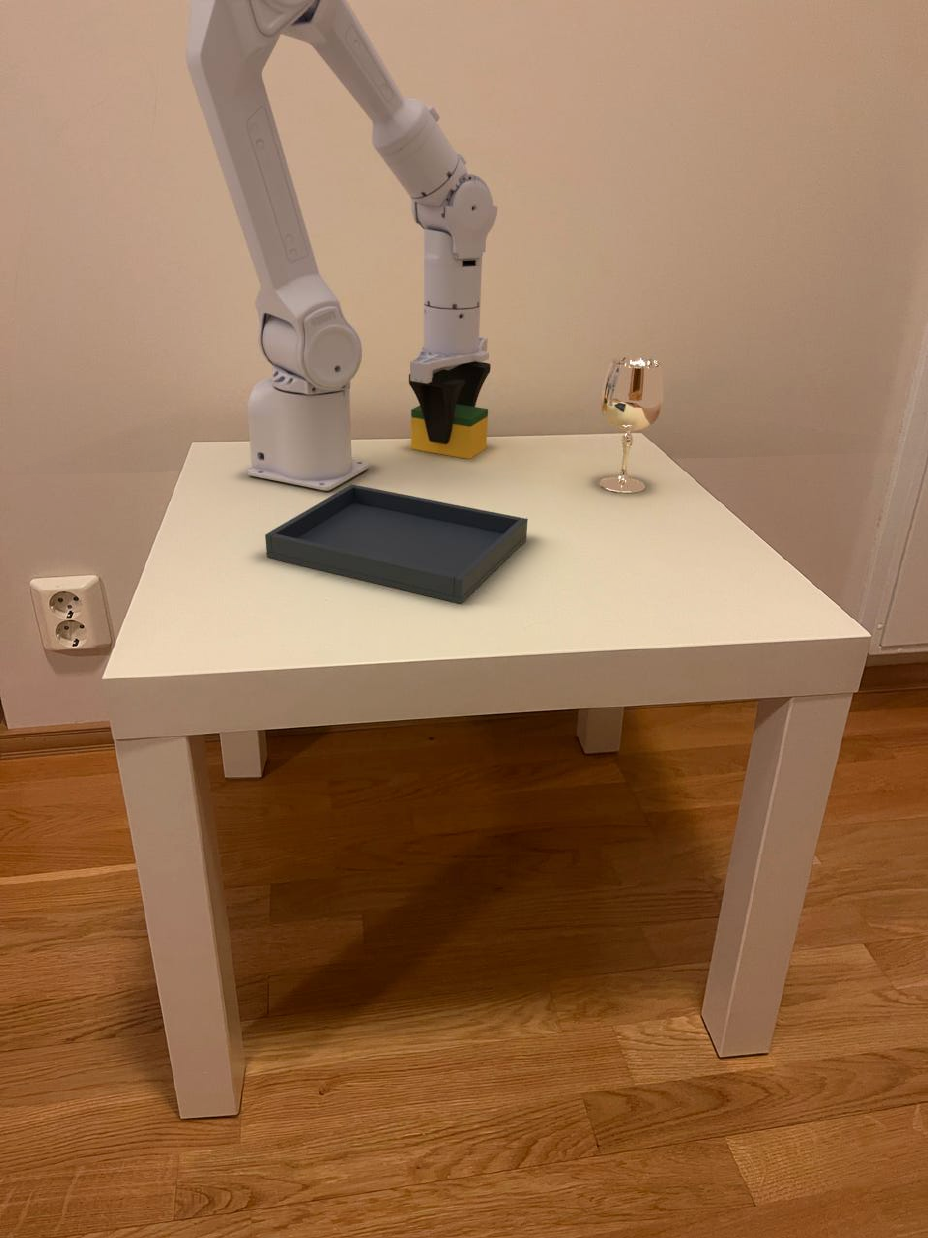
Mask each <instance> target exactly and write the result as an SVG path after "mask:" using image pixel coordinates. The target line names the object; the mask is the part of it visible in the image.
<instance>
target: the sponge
mask: <svg viewBox="0 0 928 1238" xmlns="http://www.w3.org/2000/svg"><path fill="white" fill-rule="evenodd" d="M488 420H489V409H488V408H483V407H478V406H477V407H476V406H475V407H471V406H464V405H458V404H456V407H455V411H454V418H453V427H452V432H451V437H450V440H449V443H447V444H442V443H436V442H430V441H429V438H428V434H427V429H426V425H425V421H424V417H423V413H422V410H421V407H420V405H418V406H416V407H414V408H411V410H410V449H411V450H415V451H420V452H421V451H422V452H426V453H434V454H439V455H443V456H444V455H445V456H450V457H455V458H460V459H466V460H471V459H473V457H475V456H476V455H478V454H479V453H481V452H483V451H485V449H487V446H488V445H487V444H488V443H487V442H488V424H489V423H488V422H489V421H488Z"/></svg>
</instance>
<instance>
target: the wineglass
mask: <svg viewBox="0 0 928 1238" xmlns="http://www.w3.org/2000/svg"><path fill="white" fill-rule="evenodd" d="M664 382H665V381H664V370H663V364H662V362H660V361H658V360H656V359H652V358H646V357H637V356H623V357H616V358H613V359H611V361H610V364H609V366H608V369H607V372H606V376H605V379H604V383H603V387H602V391H601V399H600V400H601V411H602V414H603V416H604V418H605V420H606V421H607V422H608V423H609V424H610V425H612V426H613V427H615V428H617V429H620V430H622V431H625V432H624V434H623V436H622V438H621V445H622V454H623V455H622V463H621V469H620V472H619V474H618V475H617V476H609V477H608V476H607V477H605V478H602V479H601V480H600V481H599V486H600V487H601V488H603V489H604V490H606V491H609V492H615V493H619V494H635V493H639V492H642V491H644V490H645V488H646V486H645V484H644V483H643V481H640V480H639V479H636V478H632V477H629V475H628V472H627V468H628V458H629V452H630V450H631V447H632V445H633V442H634V440H633V434H632V432H635V431H640V430H644V429H646V428H648V427H650V426H651V425H653V424H654V423H656V421H657V420H658V418H659V417H660V415H661V412H662V409H663V405H664V397H665V395H664V394H665V383H664Z"/></svg>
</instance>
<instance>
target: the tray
mask: <svg viewBox="0 0 928 1238" xmlns="http://www.w3.org/2000/svg"><path fill="white" fill-rule="evenodd" d="M527 533H528V518H524V517H521V516H514V515H509V514H504V513H498V512H494V511H489V510H484V509H479V508H474V507H469V506H464V505H460V504H454V503H448V502H443V501H439V500H435V499H434V500H433V499H429V498H424V497H418V496H413V495H408V494H403V493H398V492H393V491H388V490H382V489H377V488H373V487H368V486H363V485H357V484H348V486H346V487H344V488H342V489H341V490H339V491H337V492H335V493H334V494H332V495H330V496H328V497H327V498H325V499H324V500H322V501H320V502H318V503H316V504H315V505H313V506H311V507H310V508H308V509H307V510H305V511H303V512H301V513H300V514H298V515H296V516H294V517H293V518H291V519H289V520H288V521H286V522H283V523H282V524H281V525H279V526H277V527H275V528H274V529H272V530H271V531H269V532H267V533H265V534H264V537H265V538H264V539H265V540H264V541H265V550H266V552H265V554H266V558H268V559H272V560H276V561H281V562H285V563H288V564H294V565H298V566H302V567H306V568H310V569H314V570H319V571H323V572H327V573H331V574H336V575H338V576H339V575H340V576H343V577H348V578H351V579H356V580H360V581H365V582H368V583H373V584H377V585H381V586H385V587H389V588H393V589H398V590H402V591H407V592H412V593H414V594H418V595H423V596H427V597H431V598H434V599H440V600H444V601H448V602H452V603H456V604H461V605H462V604H463V602H464V601H465V600H467V599H468V598H469V597H470V596H471V595H472V594H473V593H474V592H475V591H476V590H477V589H478V588H479V587H481V585H482V584H483V583H484V582H485V581H486V580H487V579H488V578H490V576H491V575H492V574H493V573H495V571H496V570H497V569H499V568H500V567H501V566H502V565H503V564H504V563H505V562H506V561H507V560H508V559H509V558H510V557H511V556H512V555H513V554H514V553H515V552H516V551H517V550H518V549H519V548H520V547H521V546H523V545H524V543H526V541H527Z"/></svg>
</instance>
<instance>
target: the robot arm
mask: <svg viewBox="0 0 928 1238" xmlns="http://www.w3.org/2000/svg"><path fill="white" fill-rule="evenodd" d="M188 17H189V18H188V27H187V36H186V45H185V60H186V65H187V70H188V73H189V75H190V76H189V77H190V78H191V82H192V85H193V88H194V90H195V94H196V97H197V99H198V103H199V106H200V108H201V112H202V114H203V118H204V120H205V123H206V124H205V125H206V126H207V129H208V132H209V136H210V138H211V141H212V144H213V147H214V151H215V153H216V157H217V160H218V163H219V165H220V169H221V171H222V174H223V177H224V180H225V183H226V187H227V189H228V193H229V196H230V199H231V201H232V205H233V207H234V210H235V213H236V216H237V219H238V222H239V226H240V228H241V231H242V234H243V238H244V240H245V243H246V246H247V249H248V253H249V256H250V258H251V262H252V264H253V267H254V270H255V273H256V276H257V279H258V283H259V285H260V287H259V290H258V292H257V295H256V298H255V300H254V304H255V308H256V312H257V314H258V320H259V323H258V325H259V326H258V335H257V337H258V338H257V339H258V346H259V349H260V352H261V354H262V356H263V358H264V359H265V360H266V361H267V362H268V363H269V364H270V365H271V366H272V375H271V377H266V378H263V379H261V380H259V381H258V382H257V383H256V384H255V385H254V386H253V387H252V389H251V391H250V395H249V398H248V402H247V424H248V434H249V446H250V447H249V448H250V459H251V468H249V469H247V470H246V471H247V475H248V476H252V477H256V478H261V479H266V480H270V481H275V482H276V481H277V482H280V483H285V484H291V485H296V486H301V487H306V488H311V489H316V490H320V491H325V492H326V491H331V490H333V489H335V488H337V487H338V486H340V485H342V484H344V483H346V482H347V481H349V480H350V479H352V478H354V477H355V476H358V475H359V474H361V473H362V472H364V471H366V470H368V469H369V468H370V463H368V462H365V461H359V460H355V459H353V457H352V454H353V453H352V427H351V426H352V424H351V423H352V422H351V393H350V392H351V391H350V390H351V381H352V380H353V378H355V376H356V374H357V373H358V372H359V369H360V366H361V364H362V357H363V347H362V346H363V345H362V341H361V339H360V336H359V334H358V332H357V330H356V329H355V328H354V327H353V326H352V325H351V323H349V321H348V320H347V319H346V317H345V315H344V312H343V309H342V306H341V303H340V300H339V298H338V297H337V296H336V294H335V293H334V292H333V290H332V289H331V287H329V285H328V284H327V282H326V281H325V280H324V278H323V277H322V275H321V273H320V272H319V268H318V265H317V260H316V258H315V254H314V251H313V247H312V244H311V240H310V237H309V233H308V229H307V227H306V223H305V220H304V217H303V213H302V209H301V205H300V203H299V202H300V201H299V200H298V196H297V192H296V189H295V186H294V182H293V179H292V175H291V172H290V169H289V165H288V162H287V158H286V154H285V151H284V148H283V145H282V141H281V138H280V135H279V131H278V127H277V124H276V120H275V117H274V114H273V113H274V112H273V110H272V107H271V104H270V103H271V102H270V100H269V97H268V93H267V89H266V86H265V83H264V79H263V76H262V75H263V70H264V68H265V66H266V65H267V63H268V60H269V59H270V57H271V54H272V52H273V50H274V48H275V47H276V45H277V43H278V41H279V40H280V37H281V35H283V36H285V37H289V38H291V39H295V40H297V41H301V42H303V43H306V44H309V45H311V46H312V48H313V49H314V50H315V51H316V52H317V54H318V55H319V56H320V58H321V59H322V60H323V62H325V64H326V65H327V66H328V68H329V69H330V70H331V71H332V73H333V74H334V75H335V77H336V78H337V79H338V80H339V82H340V83H341V84H342V85H343V87H344V88H345V90H347V91H348V93H349V94H350V95H351V97H352V98H353V99H354V101H355V102H356V103H357V104H358V105H359V107H360V108H361V109H362V110H363V112H364V113H365V114H366V115H367V117H368V118H369V119H370V121H371V122H372V134H371V144H372V146H373V148H374V149H375V150H376V152H377V153H378V154H379V156H380V157H381V158H382V160H383V161H384V163H385V164H386V166H387V167H388V168H389V169H390V171H391V173H392V174H393V175H394V176H395V178H396V179H397V181H398V182H399V184H400V185H401V186H402V187H403V189H404V190H405V192H406V193H407V195H408V196H409V198H410V202H411V203H410V204H411V205H410V206H411V208H410V209H411V213H412V218H413V221H414V222H415V224H417V225H419V226H420V227H421V228H422V229H423V231H424V243H423V244H424V245H423V247H424V249H423V253H424V254H423V267H424V268H423V346H422V348H420V350H419V352H418V354H417V355H416V357H415V359H412V360H411V361H409V374H408V385H409V386H410V388H411V390H412V392H413V393H414V395H415V397H416V399H417V401H418V403H419V406H420V407H421V410H422V413H423V417H424V421H425V425H426V429H427V434H428V438H429V441H430V442H436V443H442V444H447V443H449V440H450V437H451V432H452V427H453V418H454V411H455V407H456V404H458V405H464V406H471V407H476V406H477V402H478V398H479V396H480V392H481V390H482V388H483V385H484V383H485V381H486V380H487V378H488V376H489V374H490V373H491V368H492V367H491V366H492V365H491V363H489V362H485V361H488V360H489V359H490V352H489V351H488V337H483V336H482V337H481V336H480V323H481V299H482V298H481V297H482V296H481V295H482V269H483V256H484V253H486V247H487V246H486V245H487V238H488V235H489V233H490V232H491V230H492V228H493V227H494V224H495V222H496V219H497V215H498V206H497V205H495V204H494V200H493V196H492V193H491V190H490V188H489V186H488V184H487V183H486V182H485V181H484V180H483V179H482V178H481V177H480V176H477V175H475V174H472V173H468V169H467V166H466V164H467V161H466V159H465V157H464V156H463V154H462V153H458V152H457V151H456V150H455V148H454V147H453V145H452V144H451V142H450V140H449V139H448V137H447V136H446V134H445V132H444V131H443V130H442V128H441V126H439V124H438V121H439V120H440V119H441V117H440V115H439V113H438V112H437V111H436V109H435V107H434V106H433V105H426V104H425V103H424V101H423V100H421V99H418V98H412V97H411V98H410V97H405V96H404V95H403V93H402V92H401V90H400V88H399V86H398V85H397V83H396V81H395V80H394V78H393V76H392V75H391V73H390V71H389V70H388V68H387V66H386V64H385V63H384V61H383V59H382V58H381V55H380V54H379V52H378V51H377V49H376V47H375V46H374V44H373V42H372V41H371V39H370V37H369V36H368V33H367V32H366V30H365V29H364V27H363V25H362V24H361V22H360V20H359V19H358V17H357V15H356V14H355V11H354V10H353V8H352V7H351V5H350V3H349V2H348V0H190V8H189V16H188Z"/></svg>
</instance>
